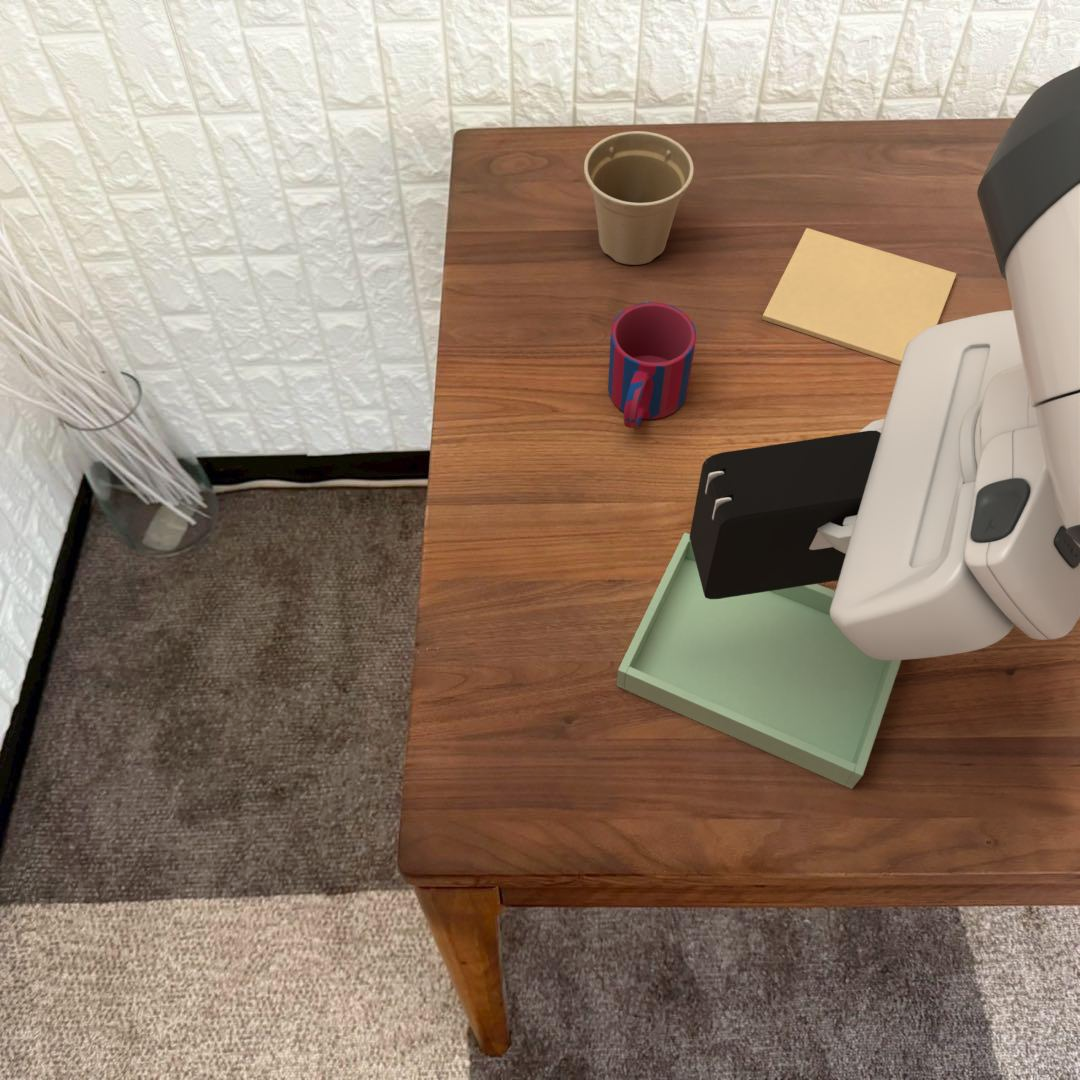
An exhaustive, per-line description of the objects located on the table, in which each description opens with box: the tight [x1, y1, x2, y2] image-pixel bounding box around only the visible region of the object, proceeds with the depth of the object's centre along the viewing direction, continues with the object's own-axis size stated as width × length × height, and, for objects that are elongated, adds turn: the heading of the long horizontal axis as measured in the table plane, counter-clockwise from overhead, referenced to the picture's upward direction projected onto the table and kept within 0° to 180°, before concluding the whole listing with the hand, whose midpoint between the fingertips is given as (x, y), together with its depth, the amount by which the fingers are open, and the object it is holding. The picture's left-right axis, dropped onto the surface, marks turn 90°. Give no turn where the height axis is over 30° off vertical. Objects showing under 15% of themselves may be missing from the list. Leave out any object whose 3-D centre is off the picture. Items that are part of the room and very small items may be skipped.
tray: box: [615, 532, 902, 790], centre depth 71 cm, size 17×12×3 cm
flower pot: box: [583, 130, 695, 266], centre depth 90 cm, size 9×9×9 cm
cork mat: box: [761, 227, 957, 366], centre depth 90 cm, size 14×12×1 cm
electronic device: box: [689, 431, 881, 599], centre depth 58 cm, size 4×10×10 cm, turn 98°
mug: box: [607, 301, 697, 429], centre depth 82 cm, size 7×10×7 cm
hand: (812, 500), depth 58 cm, fingers closed on electronic device, 3 cm apart
